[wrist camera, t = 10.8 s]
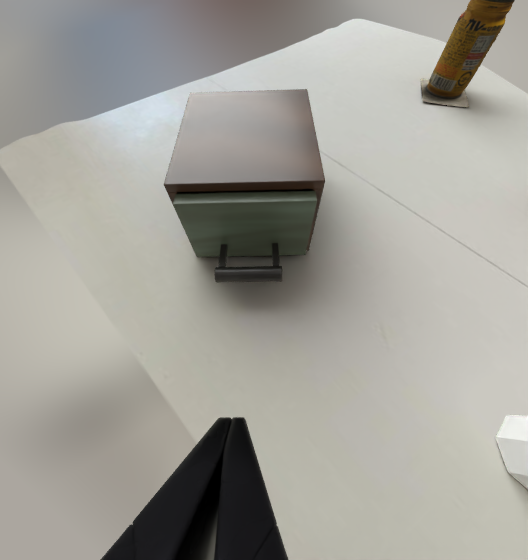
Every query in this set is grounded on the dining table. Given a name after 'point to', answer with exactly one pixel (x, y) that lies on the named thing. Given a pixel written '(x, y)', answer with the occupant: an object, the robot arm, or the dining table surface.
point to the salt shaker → (515, 446)
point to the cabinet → (247, 144)
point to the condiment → (465, 52)
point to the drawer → (247, 228)
